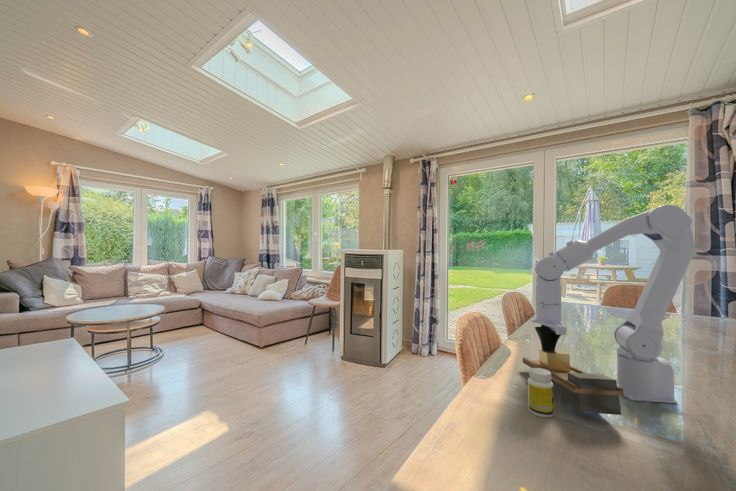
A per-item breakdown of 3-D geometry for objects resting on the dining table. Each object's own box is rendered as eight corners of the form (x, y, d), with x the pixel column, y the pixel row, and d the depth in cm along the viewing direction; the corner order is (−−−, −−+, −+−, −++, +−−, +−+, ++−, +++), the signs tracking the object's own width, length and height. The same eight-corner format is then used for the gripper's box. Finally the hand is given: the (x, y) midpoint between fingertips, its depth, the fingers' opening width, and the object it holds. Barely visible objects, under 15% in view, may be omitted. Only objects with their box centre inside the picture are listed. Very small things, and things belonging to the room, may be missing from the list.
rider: (560, 366, 78) (559, 350, 78) (570, 371, 73) (569, 354, 73) (540, 365, 78) (538, 349, 79) (548, 370, 74) (547, 353, 74)
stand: (584, 387, 75) (584, 371, 75) (605, 403, 67) (605, 385, 67) (526, 384, 77) (526, 368, 77) (540, 399, 69) (540, 381, 69)
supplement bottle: (557, 419, 60) (557, 376, 60) (532, 416, 61) (531, 374, 61) (548, 407, 65) (548, 367, 65) (524, 405, 66) (524, 366, 66)
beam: (556, 377, 84) (554, 353, 85) (626, 415, 57) (622, 380, 58) (523, 375, 85) (522, 352, 86) (576, 411, 58) (573, 377, 59)
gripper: (522, 298, 87) (522, 346, 87) (543, 307, 73) (543, 364, 73) (548, 299, 86) (548, 347, 86) (575, 308, 72) (575, 366, 71)
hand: (548, 355), depth 79 cm, fingers closed, pressing on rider
